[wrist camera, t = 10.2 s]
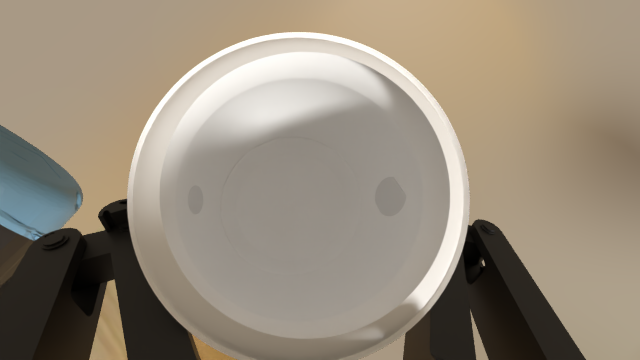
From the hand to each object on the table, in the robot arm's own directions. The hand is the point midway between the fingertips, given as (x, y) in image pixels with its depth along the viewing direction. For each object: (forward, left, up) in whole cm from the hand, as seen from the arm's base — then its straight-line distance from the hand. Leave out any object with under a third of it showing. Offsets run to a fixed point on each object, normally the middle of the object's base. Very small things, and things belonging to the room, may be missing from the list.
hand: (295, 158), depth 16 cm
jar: (-1, -3, -6) cm, 7 cm away
